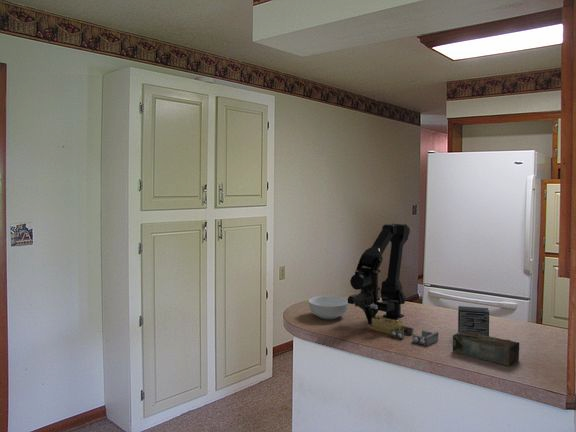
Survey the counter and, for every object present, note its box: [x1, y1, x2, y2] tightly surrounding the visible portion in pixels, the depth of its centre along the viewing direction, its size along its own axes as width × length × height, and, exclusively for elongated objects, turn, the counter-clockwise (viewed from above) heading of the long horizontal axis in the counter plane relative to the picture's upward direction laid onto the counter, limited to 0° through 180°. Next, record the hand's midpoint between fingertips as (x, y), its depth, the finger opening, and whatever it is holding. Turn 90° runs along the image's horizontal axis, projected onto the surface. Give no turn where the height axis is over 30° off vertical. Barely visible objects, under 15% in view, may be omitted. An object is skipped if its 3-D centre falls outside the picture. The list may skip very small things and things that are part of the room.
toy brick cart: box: [390, 325, 439, 347], centre depth 170 cm, size 9×15×3 cm, turn 45°
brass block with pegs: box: [371, 315, 405, 335], centre depth 178 cm, size 4×12×5 cm, turn 45°
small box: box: [457, 305, 490, 337], centre depth 172 cm, size 11×6×10 cm, turn 71°
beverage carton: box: [451, 331, 520, 367], centre depth 153 cm, size 8×19×7 cm, turn 45°
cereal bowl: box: [308, 295, 349, 320], centre depth 198 cm, size 17×17×7 cm
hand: (370, 324), depth 184 cm, fingers closed
